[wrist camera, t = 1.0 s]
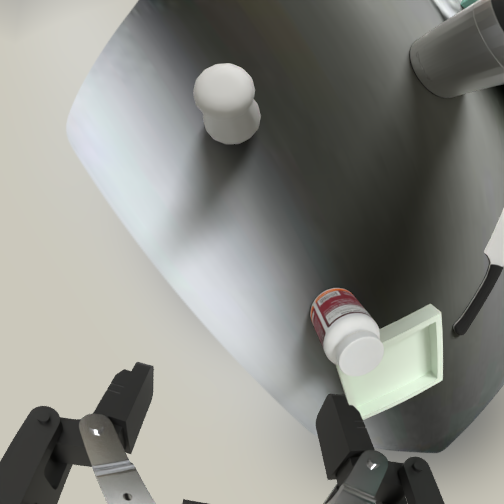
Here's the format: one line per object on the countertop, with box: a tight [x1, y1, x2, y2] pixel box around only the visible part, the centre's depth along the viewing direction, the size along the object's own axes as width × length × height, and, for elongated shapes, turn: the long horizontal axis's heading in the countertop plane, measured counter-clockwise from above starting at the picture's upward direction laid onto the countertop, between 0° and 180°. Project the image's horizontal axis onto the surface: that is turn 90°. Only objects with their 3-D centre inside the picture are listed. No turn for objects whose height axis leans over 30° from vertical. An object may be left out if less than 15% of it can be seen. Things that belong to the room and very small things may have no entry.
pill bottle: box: [310, 288, 384, 376], centre depth 30 cm, size 6×6×11 cm
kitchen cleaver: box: [453, 209, 504, 335], centre depth 33 cm, size 31×2×10 cm
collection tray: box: [335, 304, 443, 420], centre depth 36 cm, size 16×14×3 cm
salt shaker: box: [193, 63, 261, 144], centre depth 23 cm, size 6×6×13 cm
